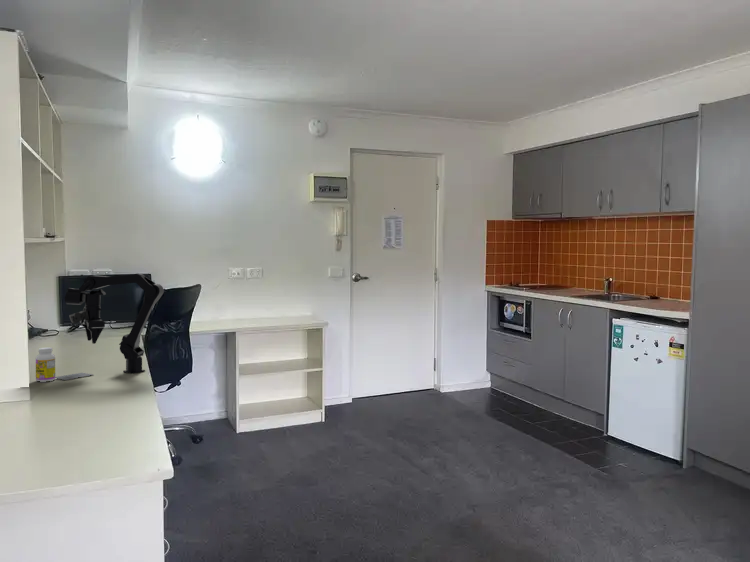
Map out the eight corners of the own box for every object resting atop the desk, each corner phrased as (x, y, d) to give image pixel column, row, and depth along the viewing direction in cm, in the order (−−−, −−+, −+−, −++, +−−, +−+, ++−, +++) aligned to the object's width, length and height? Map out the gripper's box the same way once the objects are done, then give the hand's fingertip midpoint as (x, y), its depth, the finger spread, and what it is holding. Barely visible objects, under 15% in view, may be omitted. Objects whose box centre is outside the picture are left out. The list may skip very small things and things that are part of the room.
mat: (93, 375, 230) (93, 374, 230) (64, 380, 219) (64, 379, 219) (81, 373, 234) (81, 372, 234) (53, 378, 223) (53, 377, 223)
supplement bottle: (32, 381, 218) (31, 348, 217) (48, 378, 224) (48, 346, 223) (42, 383, 215) (42, 350, 214) (59, 380, 220) (58, 347, 220)
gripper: (67, 303, 238) (66, 339, 238) (75, 307, 223) (74, 346, 224) (95, 303, 245) (94, 338, 245) (105, 307, 230) (104, 344, 231)
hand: (91, 342), depth 236 cm, fingers open, 9 cm apart
